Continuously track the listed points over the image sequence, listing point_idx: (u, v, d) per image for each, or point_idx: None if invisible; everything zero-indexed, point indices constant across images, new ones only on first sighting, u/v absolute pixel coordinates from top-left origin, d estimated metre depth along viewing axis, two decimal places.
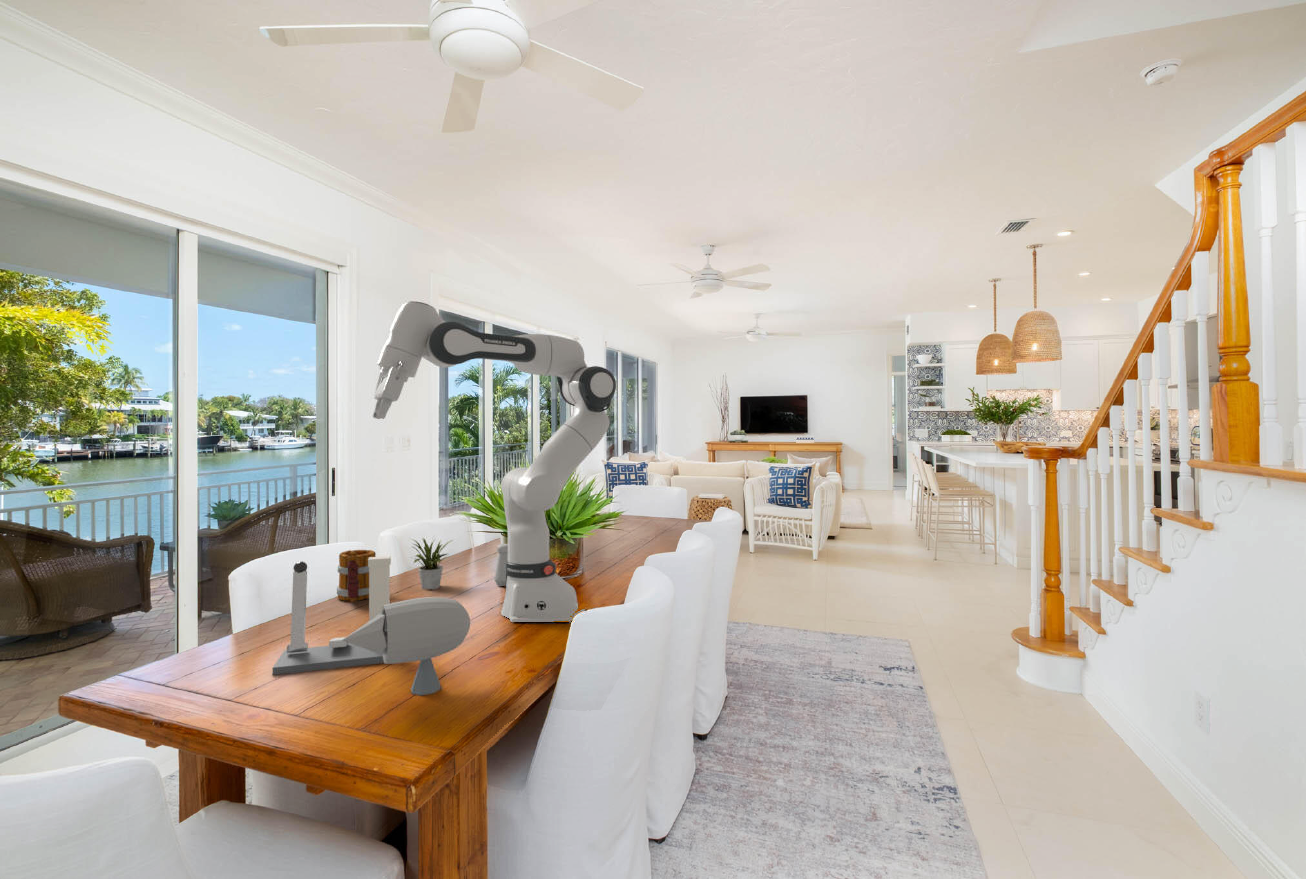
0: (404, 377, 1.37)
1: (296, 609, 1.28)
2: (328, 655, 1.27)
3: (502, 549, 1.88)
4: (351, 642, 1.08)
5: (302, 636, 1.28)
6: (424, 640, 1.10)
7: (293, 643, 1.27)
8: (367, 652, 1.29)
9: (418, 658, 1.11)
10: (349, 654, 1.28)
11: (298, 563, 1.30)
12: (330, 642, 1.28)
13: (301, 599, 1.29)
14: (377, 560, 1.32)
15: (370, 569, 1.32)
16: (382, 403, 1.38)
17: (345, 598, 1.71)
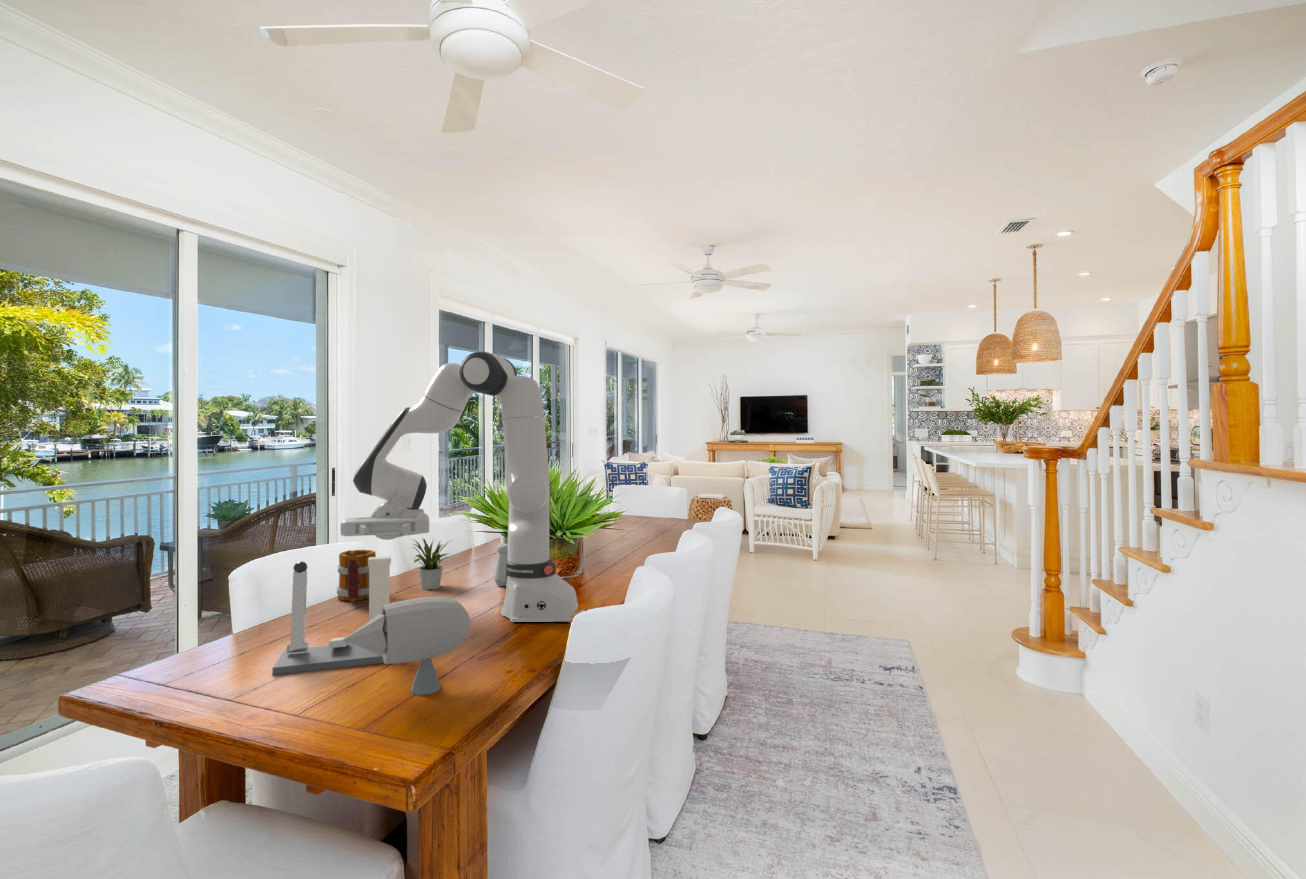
0: None
1: (296, 609, 1.28)
2: (328, 655, 1.27)
3: (502, 549, 1.88)
4: (351, 642, 1.08)
5: (302, 636, 1.28)
6: (424, 640, 1.10)
7: (293, 643, 1.27)
8: (367, 652, 1.29)
9: (418, 658, 1.11)
10: (349, 654, 1.28)
11: (298, 563, 1.30)
12: (330, 642, 1.28)
13: (301, 599, 1.29)
14: (377, 560, 1.32)
15: (370, 569, 1.32)
16: (359, 532, 1.45)
17: (345, 598, 1.71)
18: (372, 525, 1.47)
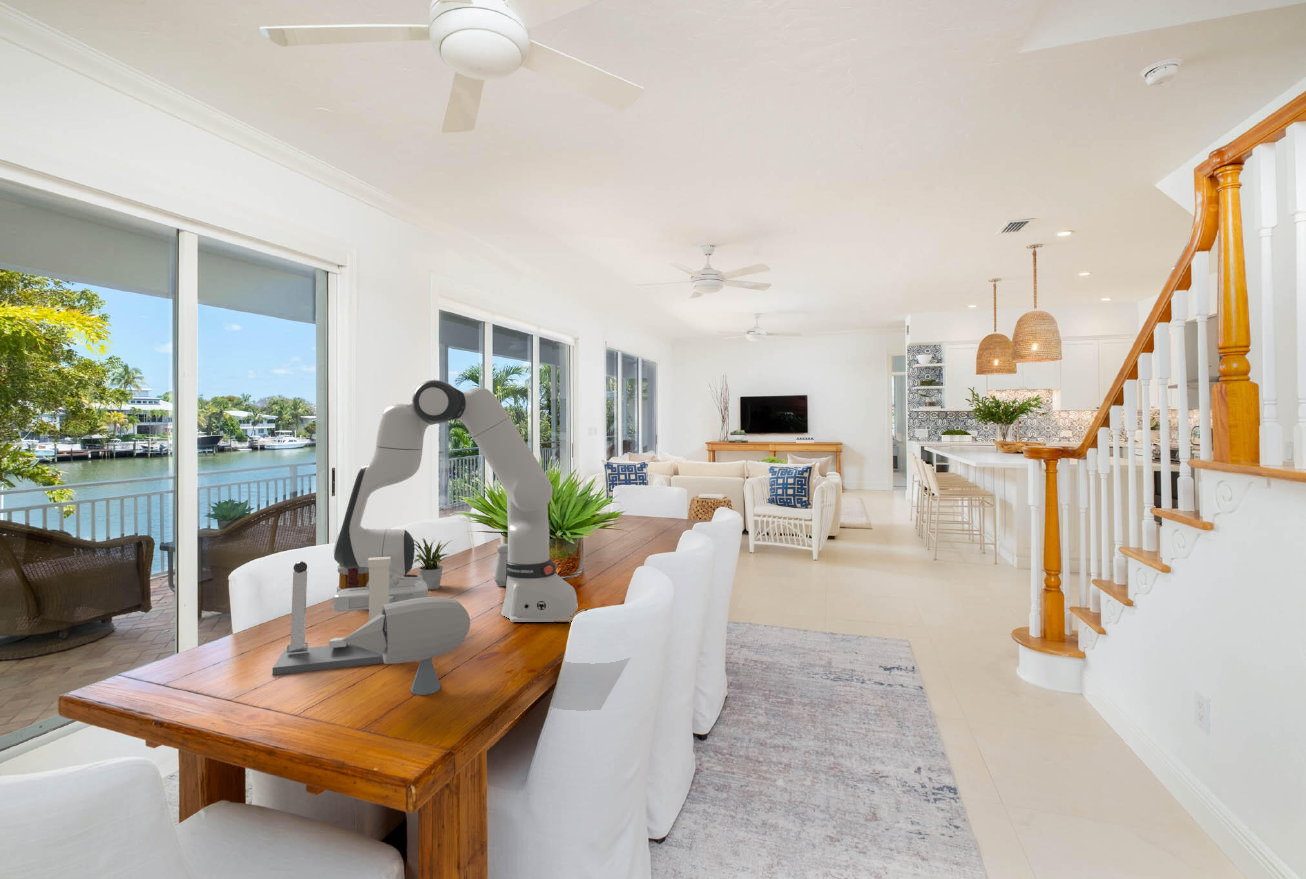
0: None
1: (296, 609, 1.28)
2: (328, 655, 1.27)
3: (502, 549, 1.88)
4: (351, 642, 1.08)
5: (302, 636, 1.28)
6: (424, 640, 1.10)
7: (293, 643, 1.27)
8: (367, 652, 1.29)
9: (418, 658, 1.11)
10: (349, 654, 1.28)
11: (298, 563, 1.30)
12: (330, 642, 1.28)
13: (301, 599, 1.29)
14: (377, 561, 1.31)
15: (370, 570, 1.31)
16: None
17: None
18: (367, 598, 1.38)
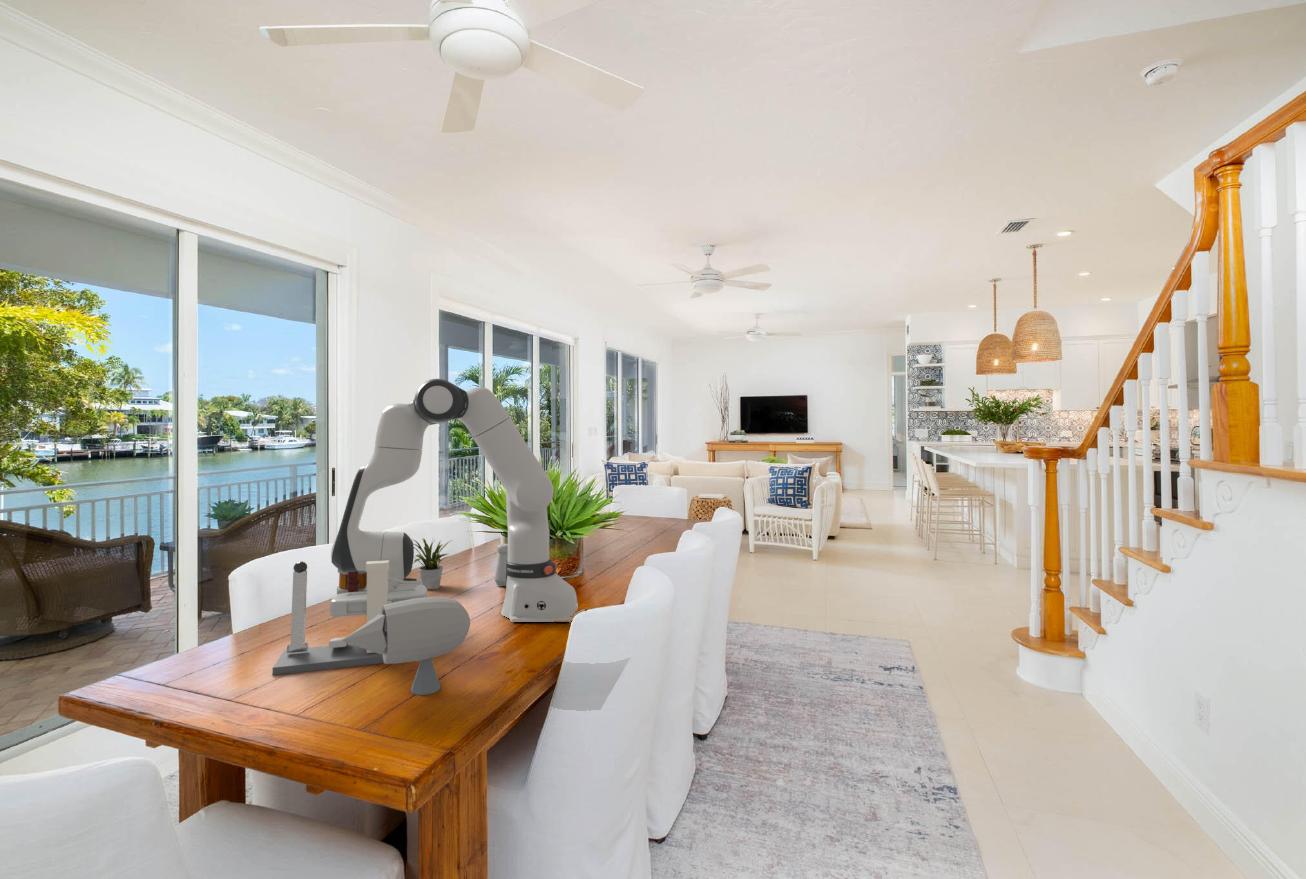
0: None
1: (296, 609, 1.28)
2: (328, 655, 1.27)
3: (502, 549, 1.88)
4: (351, 642, 1.08)
5: (302, 636, 1.28)
6: (424, 640, 1.10)
7: (293, 643, 1.27)
8: None
9: (418, 658, 1.11)
10: (349, 654, 1.28)
11: (298, 563, 1.30)
12: (330, 642, 1.28)
13: (301, 599, 1.29)
14: (375, 564, 1.28)
15: (368, 574, 1.28)
16: None
17: None
18: (365, 603, 1.34)
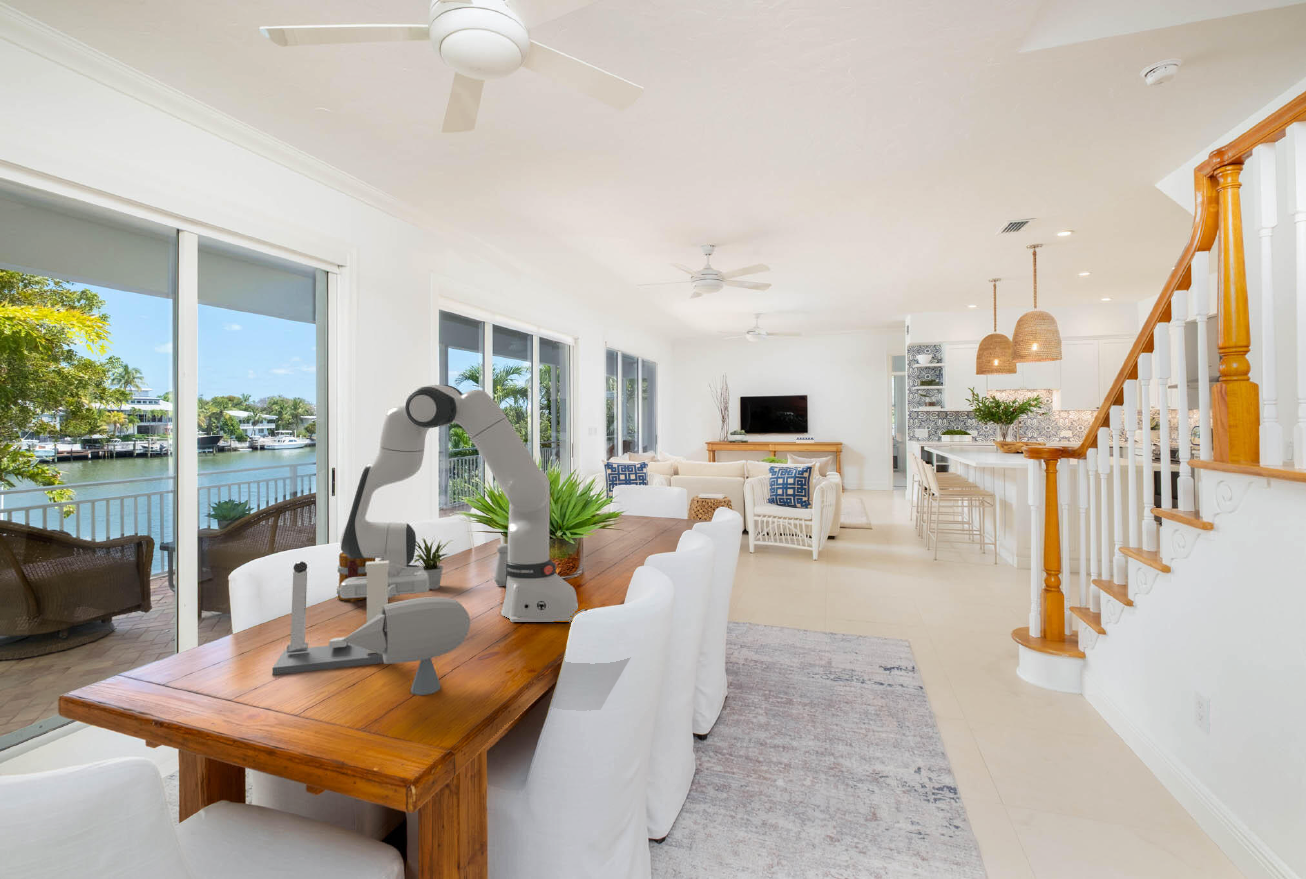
0: None
1: (296, 609, 1.28)
2: (328, 655, 1.27)
3: (502, 549, 1.88)
4: (351, 642, 1.08)
5: (302, 636, 1.28)
6: (424, 640, 1.10)
7: (293, 643, 1.27)
8: None
9: (418, 658, 1.11)
10: (349, 654, 1.28)
11: (298, 563, 1.30)
12: (330, 642, 1.28)
13: (301, 599, 1.29)
14: (375, 565, 1.27)
15: (368, 574, 1.27)
16: None
17: (345, 598, 1.71)
18: None
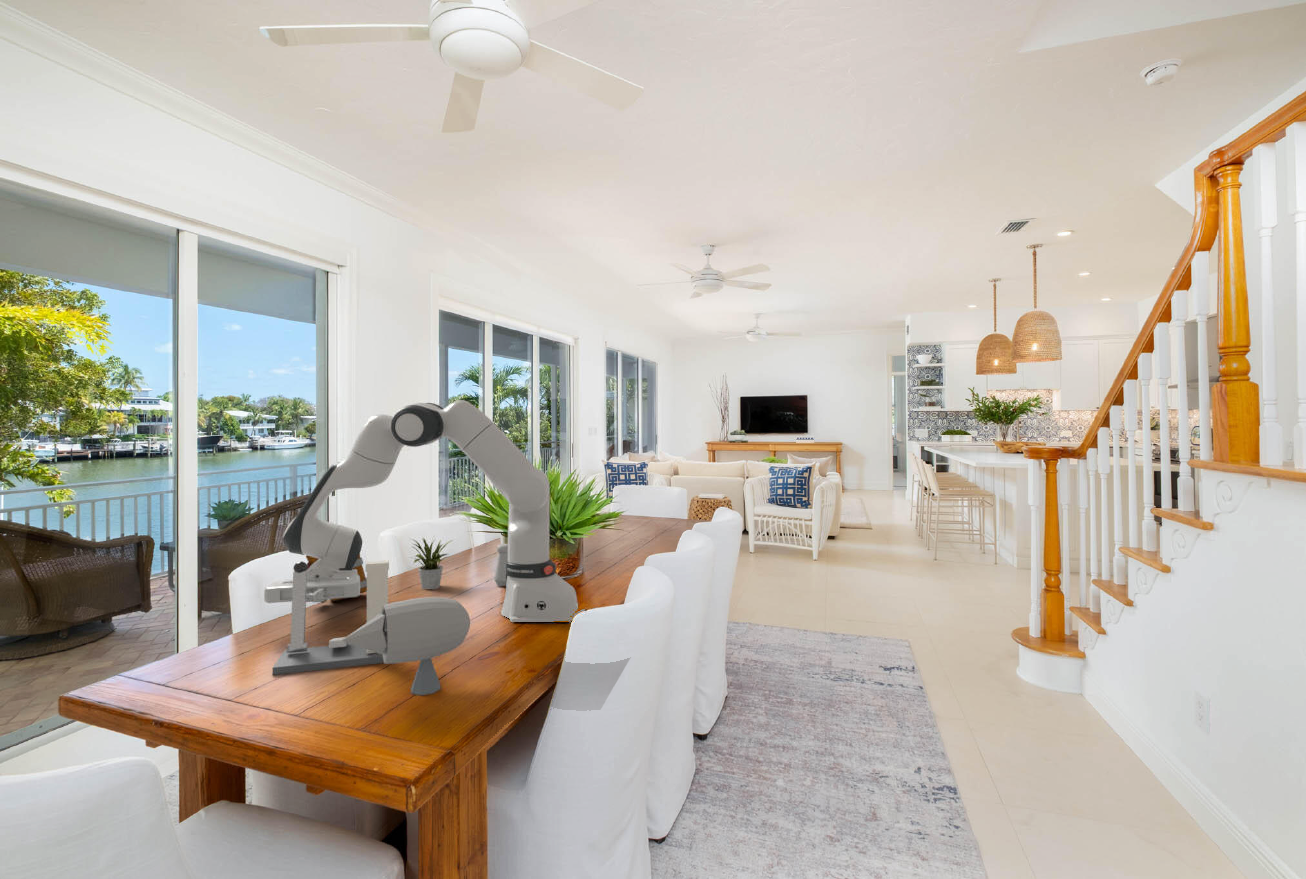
0: None
1: (296, 609, 1.28)
2: (328, 655, 1.27)
3: (502, 549, 1.88)
4: (351, 642, 1.08)
5: (302, 636, 1.28)
6: (424, 640, 1.10)
7: (293, 643, 1.27)
8: None
9: (418, 658, 1.11)
10: (349, 654, 1.28)
11: (298, 563, 1.30)
12: (330, 642, 1.28)
13: (301, 599, 1.29)
14: (375, 565, 1.27)
15: (368, 574, 1.27)
16: None
17: None
18: None
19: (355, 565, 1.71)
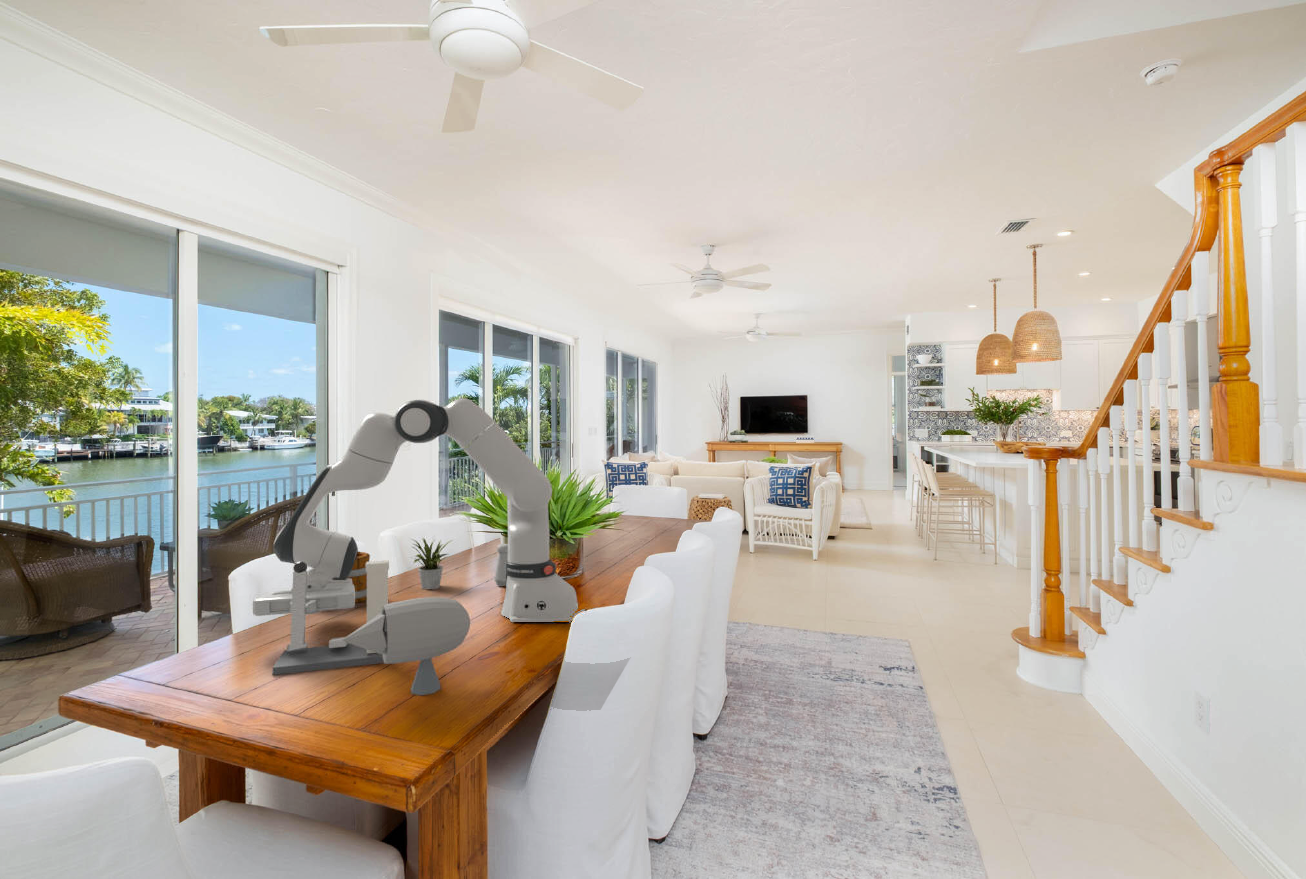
0: None
1: (296, 609, 1.28)
2: (328, 655, 1.27)
3: (502, 549, 1.88)
4: (351, 642, 1.08)
5: (302, 636, 1.28)
6: (424, 640, 1.10)
7: (293, 643, 1.27)
8: None
9: (418, 658, 1.11)
10: (349, 654, 1.28)
11: (298, 563, 1.30)
12: (330, 642, 1.28)
13: (301, 599, 1.29)
14: (375, 565, 1.27)
15: (368, 574, 1.27)
16: (290, 610, 1.32)
17: None
18: (289, 602, 1.34)
19: (361, 573, 1.70)
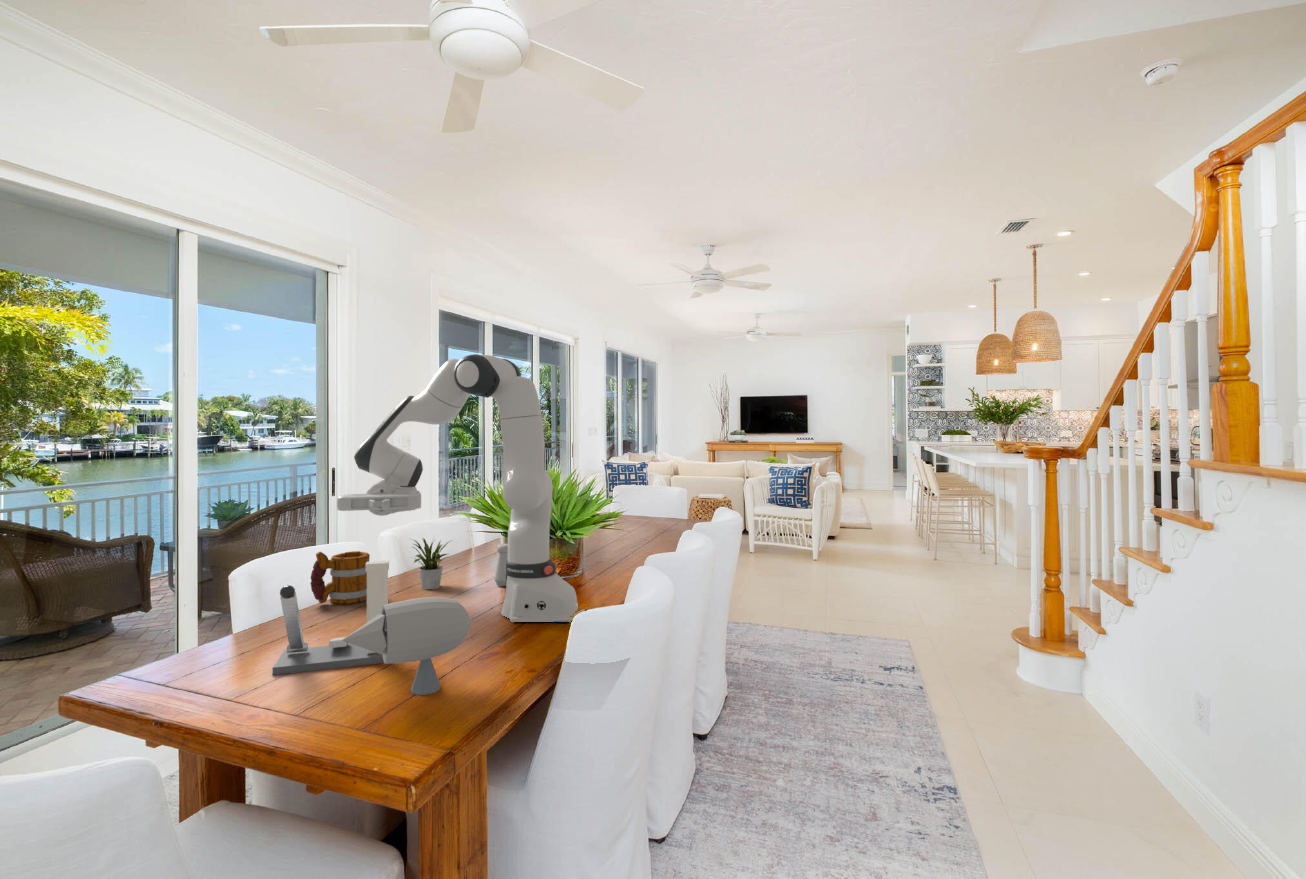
0: None
1: (290, 624, 1.23)
2: (328, 655, 1.27)
3: (502, 549, 1.88)
4: (351, 642, 1.08)
5: (300, 642, 1.27)
6: (424, 640, 1.10)
7: (292, 647, 1.27)
8: None
9: (418, 658, 1.11)
10: (349, 654, 1.28)
11: (284, 592, 1.18)
12: (330, 642, 1.28)
13: (294, 617, 1.23)
14: (375, 565, 1.27)
15: (368, 574, 1.27)
16: (368, 506, 1.54)
17: (330, 598, 1.71)
18: (367, 500, 1.56)
19: (360, 573, 1.70)
